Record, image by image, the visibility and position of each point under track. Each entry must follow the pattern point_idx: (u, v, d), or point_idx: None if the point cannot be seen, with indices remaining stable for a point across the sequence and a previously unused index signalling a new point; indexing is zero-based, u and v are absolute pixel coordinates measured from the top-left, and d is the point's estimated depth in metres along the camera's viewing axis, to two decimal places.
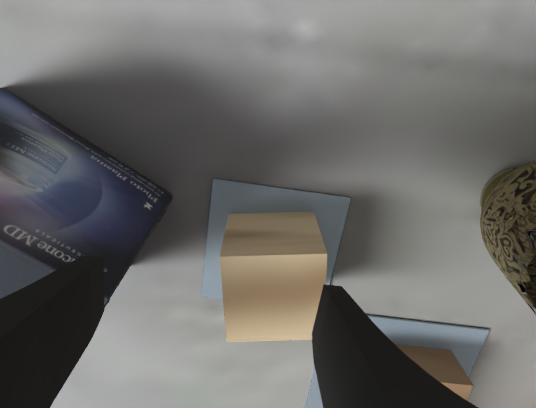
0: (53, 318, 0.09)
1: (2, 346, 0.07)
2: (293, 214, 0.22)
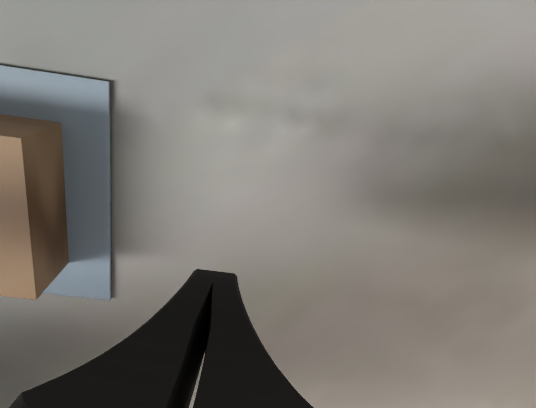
0: (196, 334, 0.10)
1: (183, 364, 0.08)
2: None
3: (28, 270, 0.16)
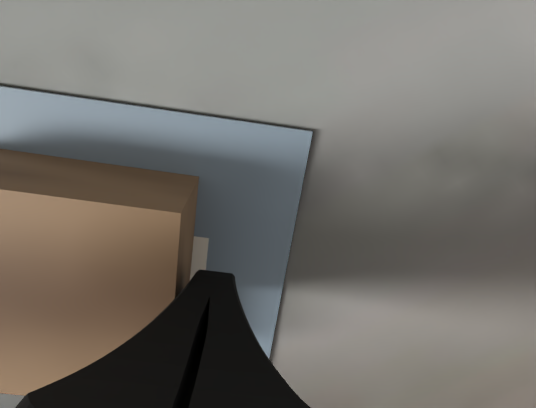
0: (199, 334, 0.10)
1: (187, 365, 0.08)
2: None
3: None
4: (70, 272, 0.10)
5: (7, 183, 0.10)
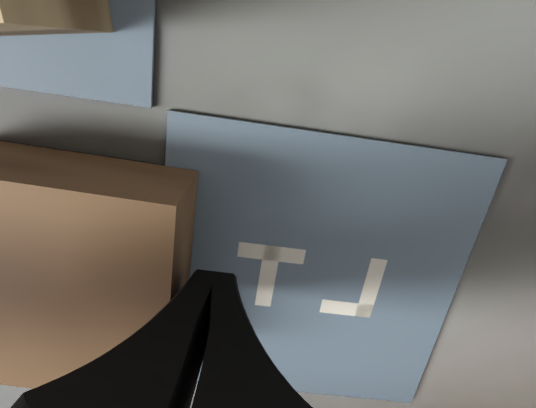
0: (197, 334, 0.10)
1: (184, 365, 0.08)
2: None
3: None
4: (66, 264, 0.10)
5: (4, 174, 0.10)
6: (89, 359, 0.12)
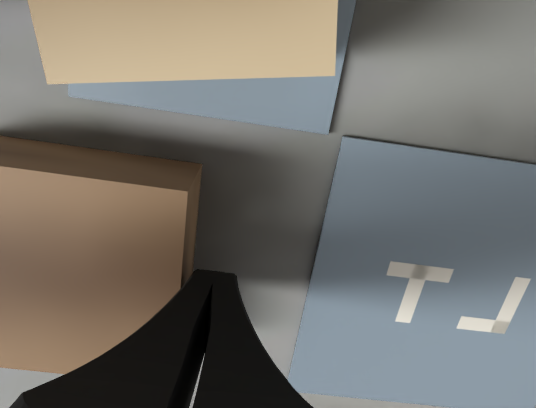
0: (196, 334, 0.10)
1: (184, 365, 0.08)
2: None
3: None
4: (81, 249, 0.11)
5: (21, 162, 0.10)
6: (102, 341, 0.12)
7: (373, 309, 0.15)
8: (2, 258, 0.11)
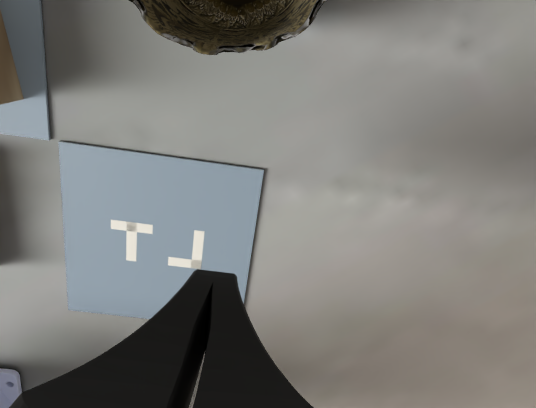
0: (196, 334, 0.10)
1: (183, 365, 0.08)
2: None
3: None
4: None
5: None
6: None
7: (109, 252, 0.23)
8: None
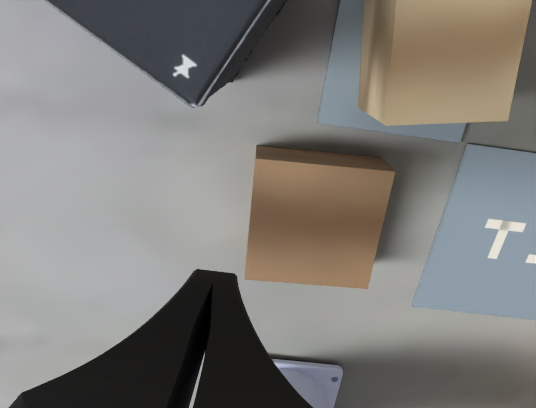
0: (196, 333, 0.10)
1: (183, 365, 0.08)
2: None
3: (369, 266, 0.21)
4: (331, 207, 0.20)
5: (304, 160, 0.19)
6: (331, 262, 0.21)
7: (474, 250, 0.24)
8: (287, 214, 0.20)
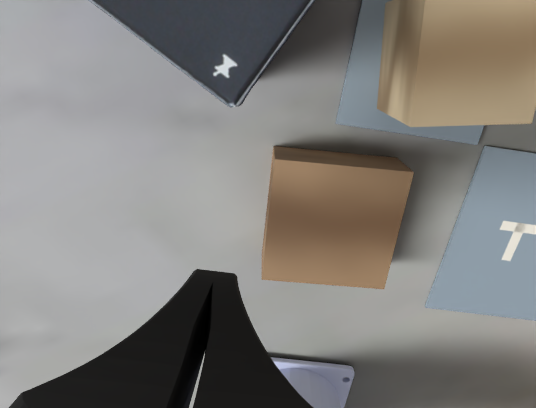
0: (196, 334, 0.10)
1: (183, 365, 0.08)
2: None
3: (385, 267, 0.21)
4: (349, 207, 0.20)
5: (323, 161, 0.19)
6: (348, 262, 0.21)
7: (488, 251, 0.24)
8: (305, 214, 0.20)
